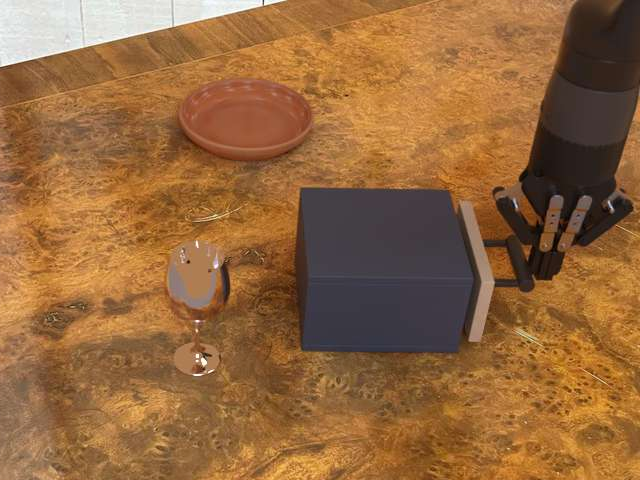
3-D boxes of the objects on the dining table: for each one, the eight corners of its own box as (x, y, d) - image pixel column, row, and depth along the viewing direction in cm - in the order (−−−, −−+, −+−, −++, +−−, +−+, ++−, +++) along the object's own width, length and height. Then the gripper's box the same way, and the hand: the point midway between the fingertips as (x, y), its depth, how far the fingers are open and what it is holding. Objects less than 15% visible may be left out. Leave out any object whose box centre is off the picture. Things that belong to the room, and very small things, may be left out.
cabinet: (435, 261, 110) (449, 189, 104) (457, 353, 100) (473, 278, 94) (294, 259, 110) (300, 186, 104) (301, 351, 99) (308, 276, 93)
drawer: (505, 259, 109) (519, 201, 104) (531, 342, 100) (548, 283, 95) (327, 257, 109) (333, 198, 104) (336, 340, 99) (343, 280, 95)
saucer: (324, 165, 123) (326, 143, 121) (186, 173, 121) (185, 151, 119) (299, 95, 135) (300, 74, 133) (173, 101, 133) (172, 80, 131)
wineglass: (187, 329, 101) (186, 229, 93) (239, 351, 99) (243, 250, 91) (153, 366, 97) (150, 264, 89) (207, 389, 95) (208, 287, 87)
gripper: (517, 141, 88) (480, 299, 99) (675, 143, 88) (620, 301, 100) (499, 94, 94) (466, 249, 105) (648, 97, 94) (599, 251, 105)
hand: (541, 274), depth 102 cm, fingers closed
